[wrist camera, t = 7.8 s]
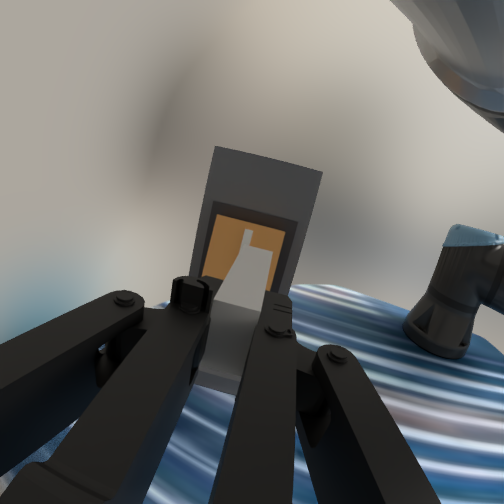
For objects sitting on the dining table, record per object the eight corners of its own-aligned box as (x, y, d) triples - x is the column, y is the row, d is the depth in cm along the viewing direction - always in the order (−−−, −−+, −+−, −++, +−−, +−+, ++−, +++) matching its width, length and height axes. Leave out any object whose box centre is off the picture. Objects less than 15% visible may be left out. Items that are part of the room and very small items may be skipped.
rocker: (195, 319, 29) (220, 215, 28) (256, 336, 29) (284, 232, 28) (190, 324, 27) (216, 214, 26) (255, 342, 27) (285, 231, 26)
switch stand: (174, 315, 42) (206, 144, 35) (287, 346, 41) (339, 177, 34) (139, 365, 30) (169, 137, 23) (285, 406, 30) (364, 184, 23)
